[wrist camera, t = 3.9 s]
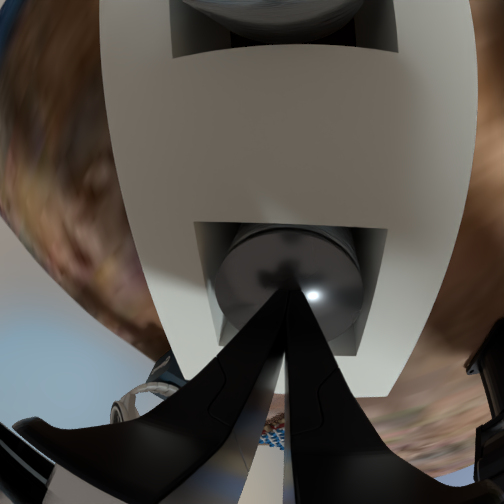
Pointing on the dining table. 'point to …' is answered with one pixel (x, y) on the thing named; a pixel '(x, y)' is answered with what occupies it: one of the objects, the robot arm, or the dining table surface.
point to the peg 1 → (280, 18)
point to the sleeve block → (294, 160)
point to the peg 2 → (292, 272)
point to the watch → (151, 388)
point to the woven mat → (274, 434)
